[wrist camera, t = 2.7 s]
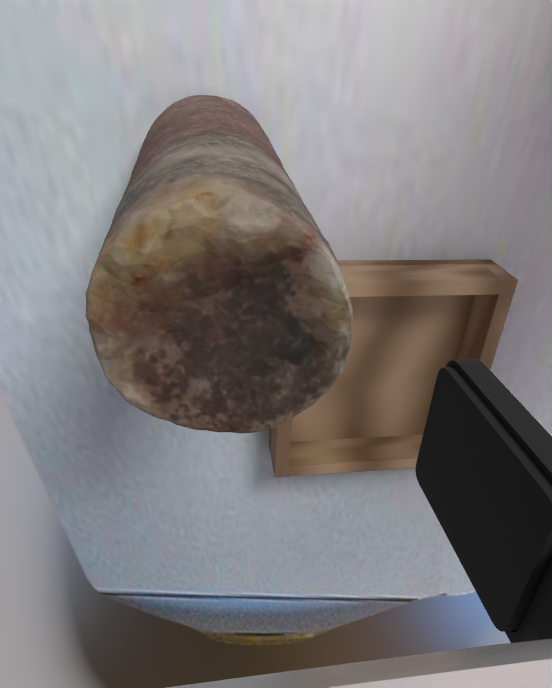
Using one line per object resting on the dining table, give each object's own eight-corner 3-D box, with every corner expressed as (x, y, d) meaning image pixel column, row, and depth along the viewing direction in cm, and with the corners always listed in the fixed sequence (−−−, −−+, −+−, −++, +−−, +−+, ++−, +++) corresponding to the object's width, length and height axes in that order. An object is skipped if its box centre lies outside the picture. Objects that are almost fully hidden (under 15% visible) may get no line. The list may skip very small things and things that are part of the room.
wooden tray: (490, 259, 36) (517, 280, 33) (442, 435, 44) (460, 464, 41) (278, 261, 34) (286, 282, 31) (269, 445, 42) (274, 477, 39)
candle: (237, 246, 33) (280, 472, 16) (124, 197, 30) (32, 402, 13) (292, 131, 30) (421, 258, 13) (172, 67, 27) (131, 115, 10)
